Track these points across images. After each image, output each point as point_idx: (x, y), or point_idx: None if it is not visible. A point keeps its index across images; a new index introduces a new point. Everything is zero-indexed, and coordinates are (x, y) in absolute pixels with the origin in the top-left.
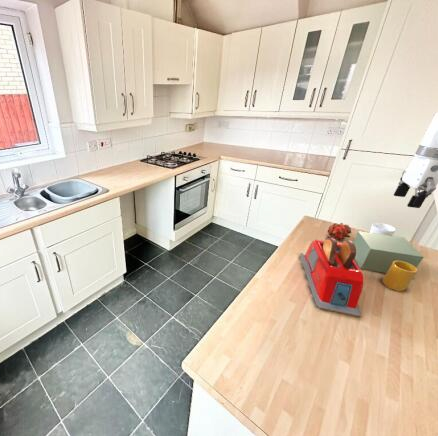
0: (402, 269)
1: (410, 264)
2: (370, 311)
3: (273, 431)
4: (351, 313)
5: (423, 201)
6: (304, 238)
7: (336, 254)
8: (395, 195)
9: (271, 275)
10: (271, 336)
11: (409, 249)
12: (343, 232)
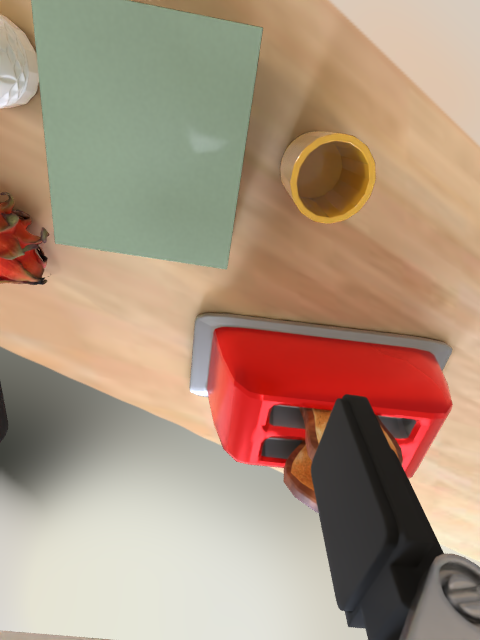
0: (358, 209)
1: (318, 143)
2: (428, 307)
3: None
4: (444, 365)
5: (397, 467)
6: (72, 346)
7: None
8: (3, 428)
9: None
10: (471, 491)
11: (191, 61)
12: (13, 241)
